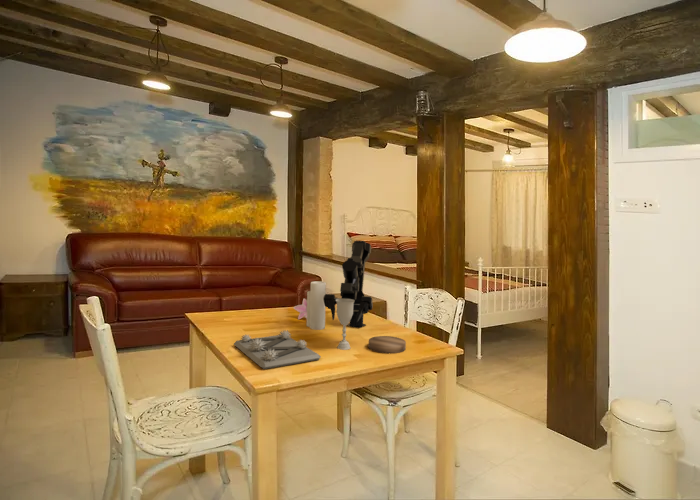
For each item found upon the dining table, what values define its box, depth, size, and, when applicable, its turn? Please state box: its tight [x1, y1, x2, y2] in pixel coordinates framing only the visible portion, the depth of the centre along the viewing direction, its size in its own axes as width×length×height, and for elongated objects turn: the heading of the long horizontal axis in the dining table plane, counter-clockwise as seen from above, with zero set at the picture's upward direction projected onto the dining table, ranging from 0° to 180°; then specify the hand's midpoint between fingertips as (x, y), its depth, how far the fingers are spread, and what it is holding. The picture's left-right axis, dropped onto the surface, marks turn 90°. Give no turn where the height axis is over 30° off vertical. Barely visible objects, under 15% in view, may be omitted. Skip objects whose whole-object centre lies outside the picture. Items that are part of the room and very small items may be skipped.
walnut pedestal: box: [368, 335, 407, 354], centre depth 167 cm, size 14×14×2 cm
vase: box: [306, 280, 327, 331], centre depth 194 cm, size 11×7×20 cm, turn 20°
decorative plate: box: [233, 329, 322, 370], centre depth 158 cm, size 30×22×7 cm
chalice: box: [336, 299, 355, 351], centre depth 165 cm, size 7×7×18 cm
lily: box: [293, 298, 307, 320], centre depth 209 cm, size 12×12×10 cm
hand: (345, 320), depth 166 cm, fingers open, 9 cm apart
